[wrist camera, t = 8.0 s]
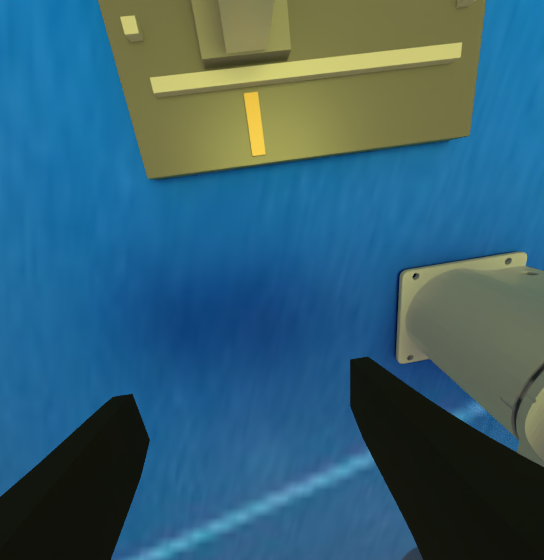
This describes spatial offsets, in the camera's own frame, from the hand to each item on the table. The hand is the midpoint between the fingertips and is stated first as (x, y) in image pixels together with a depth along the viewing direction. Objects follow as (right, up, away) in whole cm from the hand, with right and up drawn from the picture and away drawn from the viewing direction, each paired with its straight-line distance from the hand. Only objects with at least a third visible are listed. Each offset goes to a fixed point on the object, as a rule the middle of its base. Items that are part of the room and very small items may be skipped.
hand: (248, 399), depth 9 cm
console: (+2, +17, +5) cm, 18 cm away
